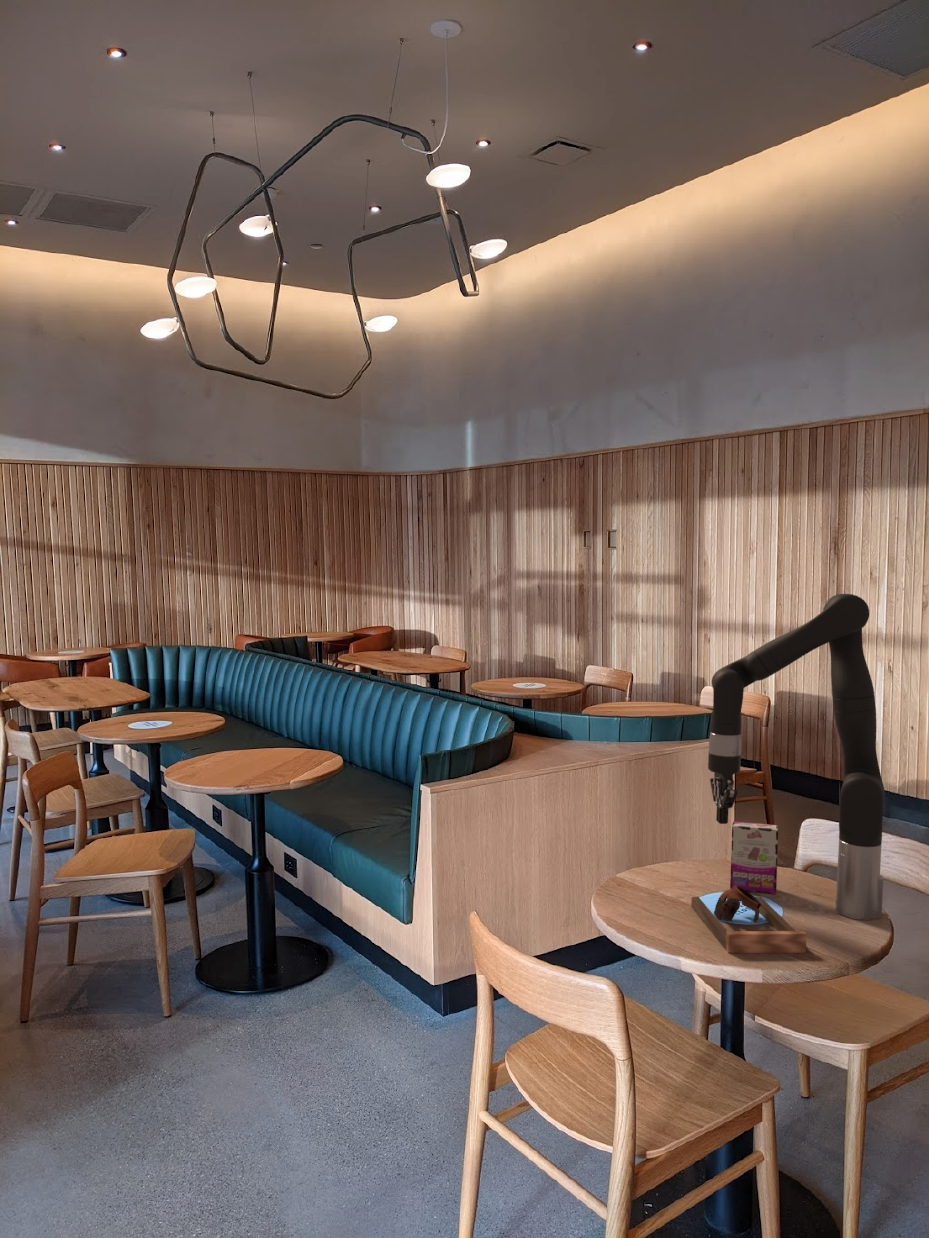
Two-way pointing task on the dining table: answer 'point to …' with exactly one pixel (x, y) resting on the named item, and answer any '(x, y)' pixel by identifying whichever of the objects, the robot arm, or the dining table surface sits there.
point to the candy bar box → (754, 857)
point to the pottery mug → (735, 903)
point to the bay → (754, 932)
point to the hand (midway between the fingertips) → (721, 822)
